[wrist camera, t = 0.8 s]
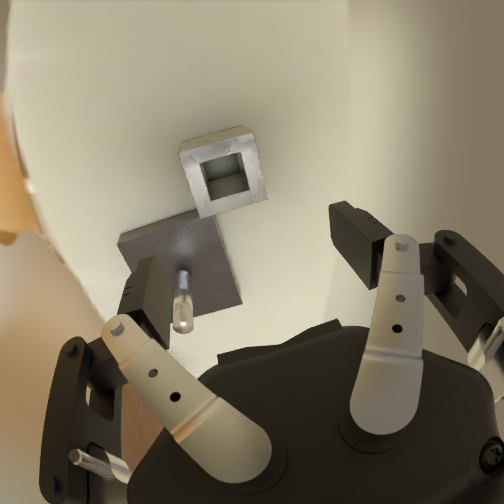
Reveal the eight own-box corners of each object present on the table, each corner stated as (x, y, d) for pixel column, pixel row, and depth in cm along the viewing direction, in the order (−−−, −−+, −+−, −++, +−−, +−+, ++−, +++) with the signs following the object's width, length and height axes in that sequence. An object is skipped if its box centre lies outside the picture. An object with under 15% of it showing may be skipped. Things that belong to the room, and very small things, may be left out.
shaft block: (121, 234, 26) (98, 290, 19) (211, 204, 26) (218, 255, 19) (164, 313, 33) (162, 372, 26) (240, 292, 33) (254, 351, 26)
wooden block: (103, 347, 35) (88, 472, 18) (166, 347, 37) (170, 481, 20) (122, 381, 40) (118, 486, 24) (176, 381, 42) (184, 490, 26)
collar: (182, 142, 23) (178, 153, 18) (242, 125, 23) (252, 132, 19) (199, 196, 26) (200, 218, 22) (255, 180, 26) (267, 199, 22)
